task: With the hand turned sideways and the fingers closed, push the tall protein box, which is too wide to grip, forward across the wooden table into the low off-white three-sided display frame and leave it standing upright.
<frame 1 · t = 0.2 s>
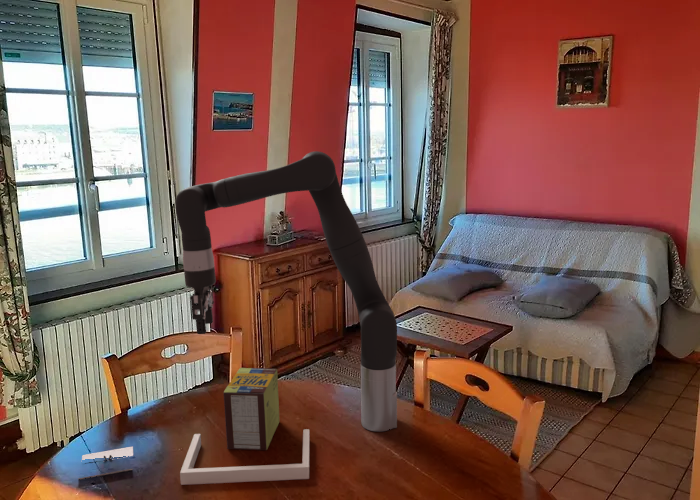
hand: (205, 328, 158), 29 cm above the table, fingers open, 8 cm apart
display frame: (249, 459, 150), on the table
protein box: (254, 435, 162), on the table
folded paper: (107, 468, 148), on the table
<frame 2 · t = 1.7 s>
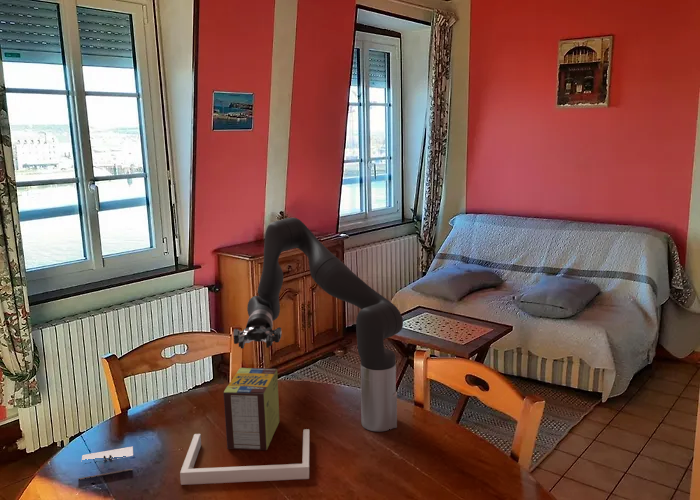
hand: (254, 344, 170), 20 cm above the table, fingers open, 6 cm apart
nothing on the table moved.
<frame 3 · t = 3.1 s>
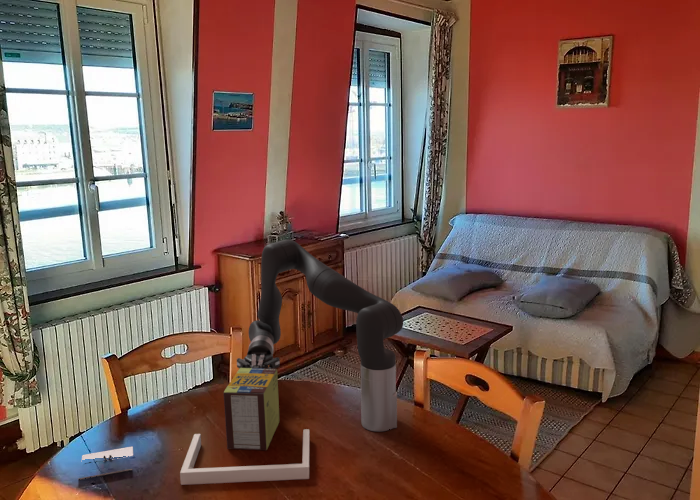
hand: (255, 375, 171), 11 cm above the table, fingers closed
nothing on the table moved.
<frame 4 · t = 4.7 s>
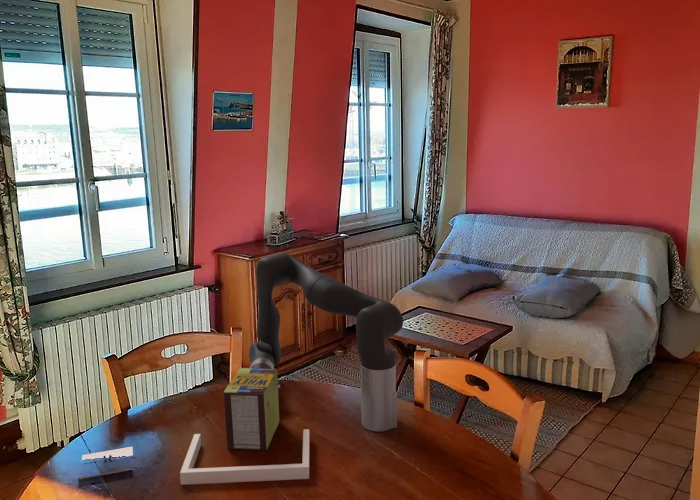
hand: (255, 399, 168), 6 cm above the table, fingers closed
protein box: (254, 435, 162), on the table, touching gripper
everything else where it was.
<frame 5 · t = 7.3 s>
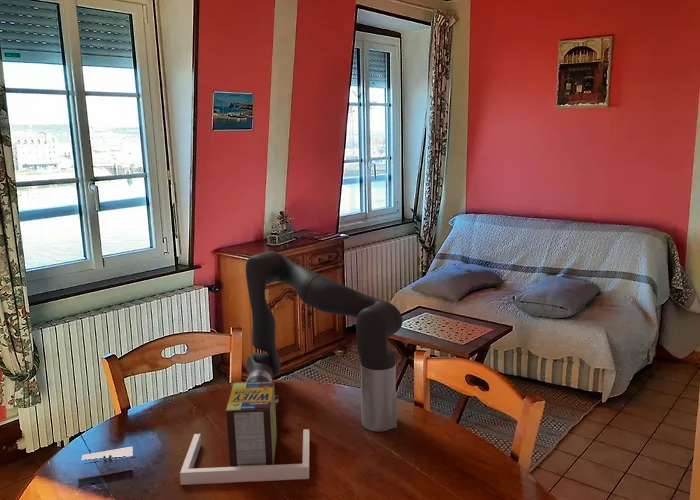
hand: (252, 415, 159), 6 cm above the table, fingers closed
protein box: (254, 453, 153), on the table, touching gripper
everything else where it was.
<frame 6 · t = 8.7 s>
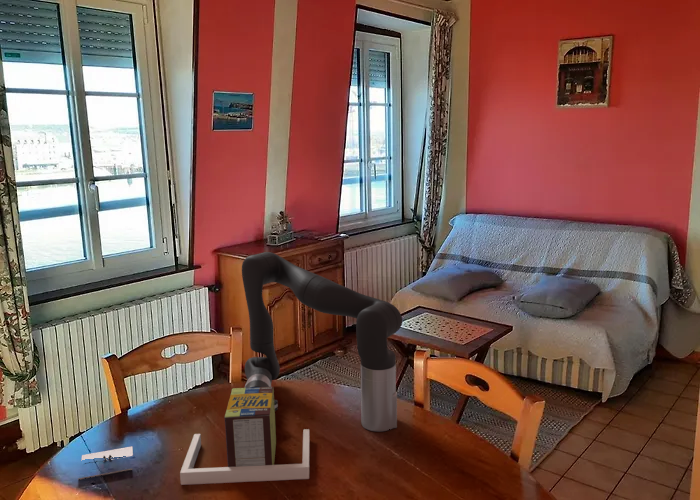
hand: (251, 421, 156), 6 cm above the table, fingers closed
protein box: (253, 460, 150), on the table, touching gripper
everything else where it was.
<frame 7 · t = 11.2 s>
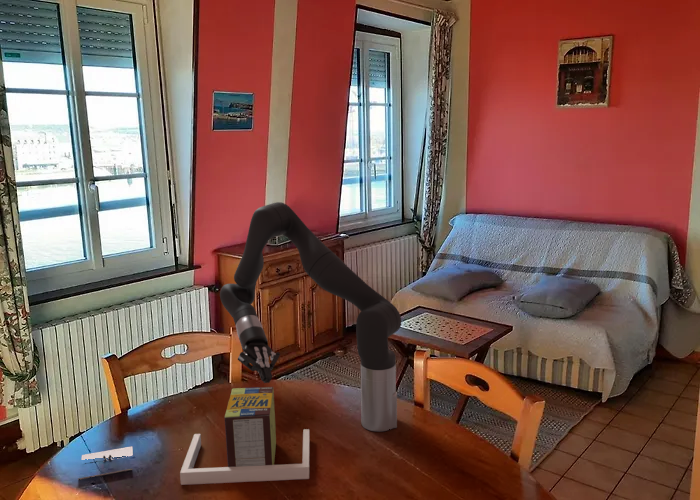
hand: (267, 380, 169), 10 cm above the table, fingers closed
protein box: (253, 460, 150), on the table
everything else where it was.
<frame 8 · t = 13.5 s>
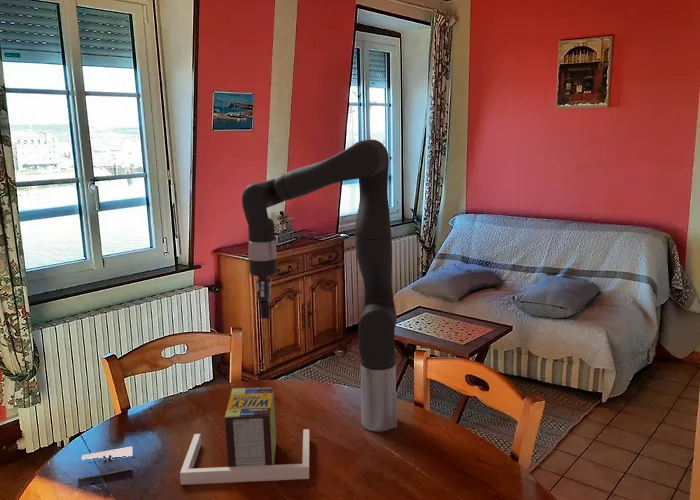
hand: (265, 317, 171), 27 cm above the table, fingers closed
nothing on the table moved.
at the end: protein box inside the target area on the display frame (1.1 cm from its centre), point 0.0 cm above the display frame's base; protein box tilted 0°; protein box moved 12.2 cm from its start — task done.
